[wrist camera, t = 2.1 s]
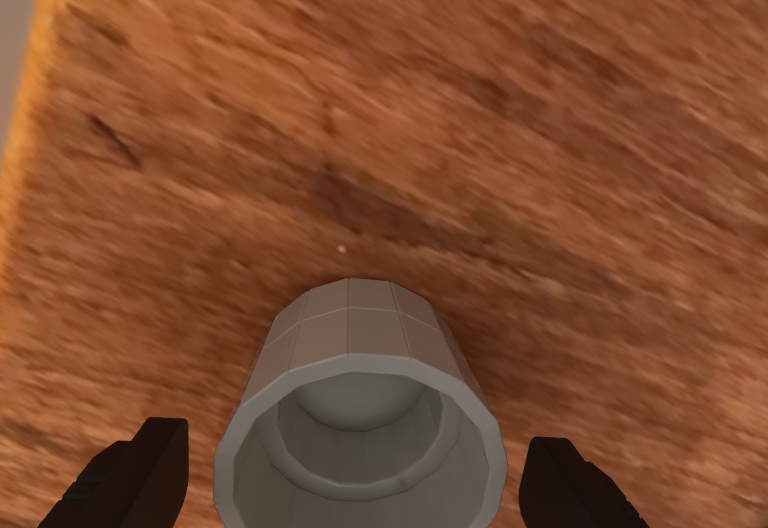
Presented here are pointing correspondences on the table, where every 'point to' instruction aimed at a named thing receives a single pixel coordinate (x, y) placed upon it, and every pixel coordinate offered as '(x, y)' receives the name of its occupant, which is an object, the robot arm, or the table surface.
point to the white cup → (359, 420)
